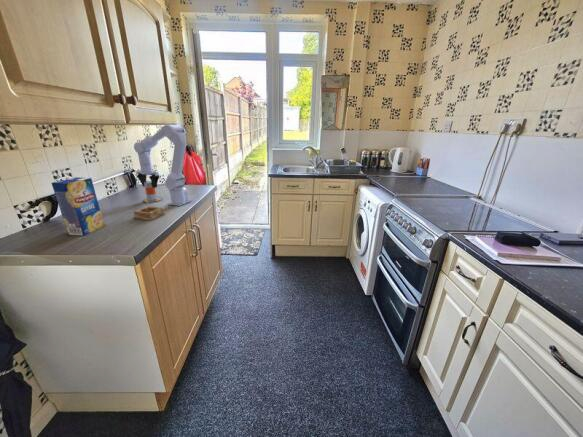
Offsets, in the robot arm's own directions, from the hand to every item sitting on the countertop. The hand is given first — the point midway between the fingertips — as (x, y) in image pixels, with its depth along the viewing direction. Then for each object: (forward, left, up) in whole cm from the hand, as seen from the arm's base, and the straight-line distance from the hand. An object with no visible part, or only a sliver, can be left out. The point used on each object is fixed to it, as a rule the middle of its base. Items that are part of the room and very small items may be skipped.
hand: (150, 186), depth 147 cm
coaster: (0, 0, -8) cm, 8 cm away
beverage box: (+45, +9, -9) cm, 47 cm away
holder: (+23, +20, -8) cm, 32 cm away
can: (0, 0, -8) cm, 8 cm away
